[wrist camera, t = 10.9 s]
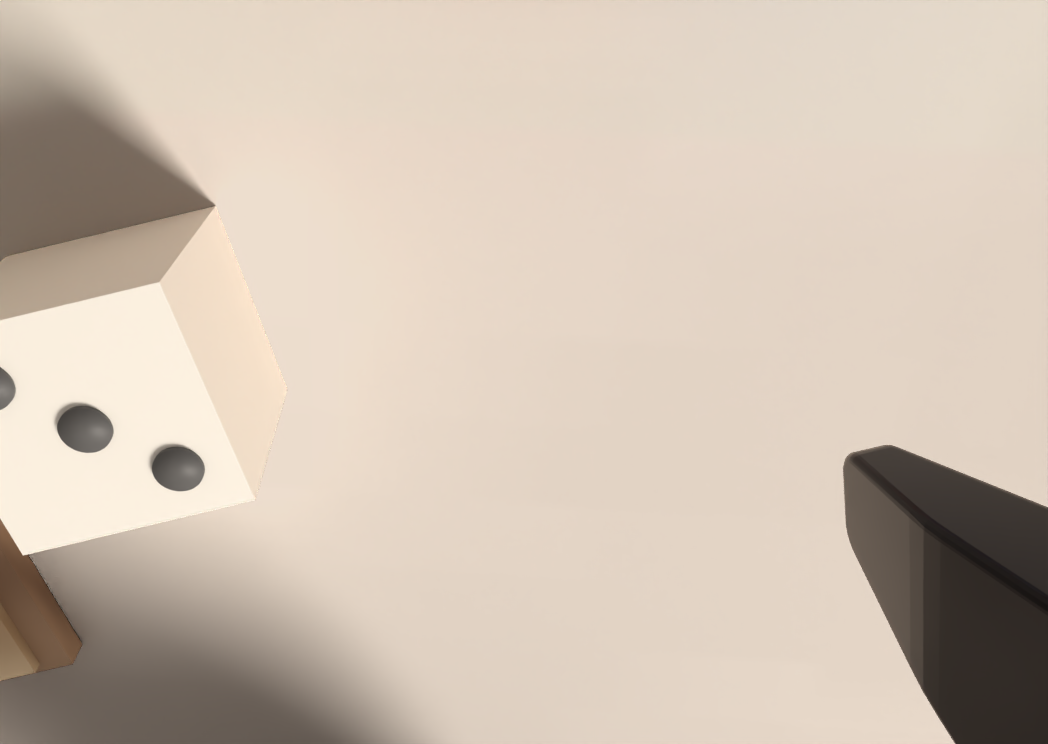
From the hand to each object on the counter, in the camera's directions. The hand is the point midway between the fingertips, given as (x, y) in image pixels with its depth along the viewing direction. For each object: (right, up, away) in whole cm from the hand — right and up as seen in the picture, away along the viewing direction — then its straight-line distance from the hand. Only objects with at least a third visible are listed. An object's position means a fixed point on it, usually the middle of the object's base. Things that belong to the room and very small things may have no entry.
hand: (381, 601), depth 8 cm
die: (-7, +3, +11) cm, 14 cm away
